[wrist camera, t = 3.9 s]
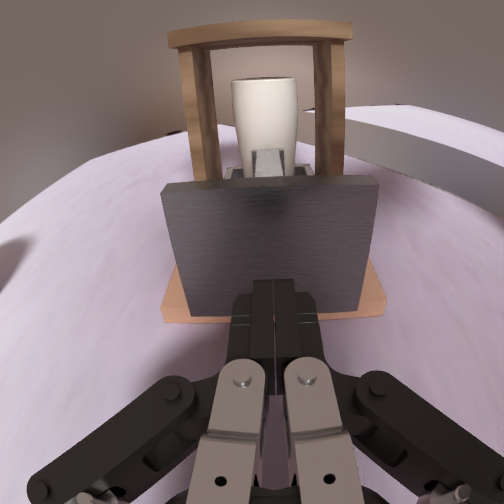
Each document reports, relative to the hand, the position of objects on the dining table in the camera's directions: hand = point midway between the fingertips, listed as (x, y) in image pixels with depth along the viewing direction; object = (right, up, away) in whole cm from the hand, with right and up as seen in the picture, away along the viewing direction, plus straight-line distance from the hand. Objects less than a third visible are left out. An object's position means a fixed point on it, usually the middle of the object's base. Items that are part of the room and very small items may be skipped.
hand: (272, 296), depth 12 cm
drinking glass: (+1, +7, +25) cm, 25 cm away
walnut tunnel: (+1, +7, +24) cm, 25 cm away
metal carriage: (+1, +3, +18) cm, 18 cm away
